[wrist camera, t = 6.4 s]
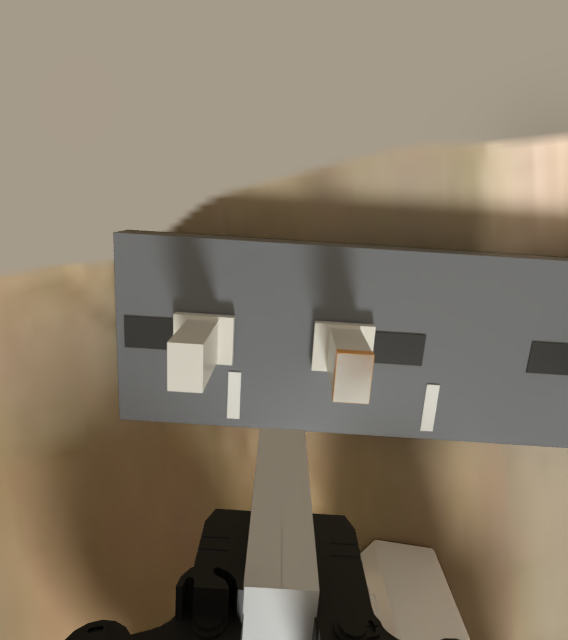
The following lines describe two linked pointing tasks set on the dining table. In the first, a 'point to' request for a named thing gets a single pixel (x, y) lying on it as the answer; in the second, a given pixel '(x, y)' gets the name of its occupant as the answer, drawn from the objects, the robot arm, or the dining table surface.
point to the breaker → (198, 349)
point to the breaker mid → (345, 358)
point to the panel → (351, 307)
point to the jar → (410, 592)
